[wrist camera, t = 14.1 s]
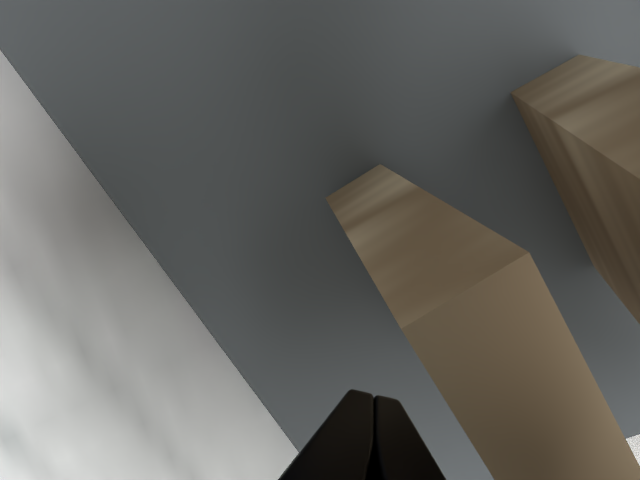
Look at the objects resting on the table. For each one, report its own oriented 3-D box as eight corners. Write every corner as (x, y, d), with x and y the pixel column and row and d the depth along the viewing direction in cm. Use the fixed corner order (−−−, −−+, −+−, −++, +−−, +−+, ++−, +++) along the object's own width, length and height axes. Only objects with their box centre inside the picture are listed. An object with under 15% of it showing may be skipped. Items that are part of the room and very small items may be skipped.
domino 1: (419, 350, 15) (581, 619, 7) (325, 197, 14) (400, 329, 6) (469, 320, 15) (687, 560, 7) (380, 163, 14) (529, 252, 6)
